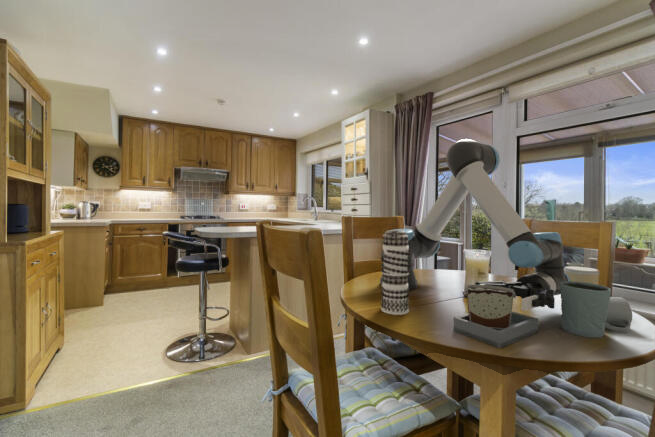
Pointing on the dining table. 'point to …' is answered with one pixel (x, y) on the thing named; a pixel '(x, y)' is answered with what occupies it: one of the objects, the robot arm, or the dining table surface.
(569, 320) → the teal tapered cylinder
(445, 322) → the dining table surface
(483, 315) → the food container
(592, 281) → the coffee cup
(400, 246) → the decorative candle
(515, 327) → the tray
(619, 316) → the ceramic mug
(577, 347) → the dining table surface
